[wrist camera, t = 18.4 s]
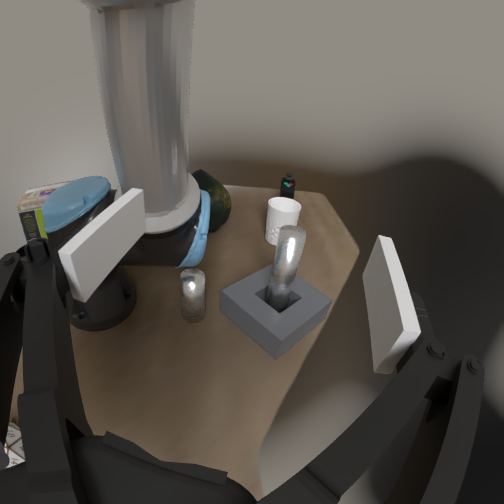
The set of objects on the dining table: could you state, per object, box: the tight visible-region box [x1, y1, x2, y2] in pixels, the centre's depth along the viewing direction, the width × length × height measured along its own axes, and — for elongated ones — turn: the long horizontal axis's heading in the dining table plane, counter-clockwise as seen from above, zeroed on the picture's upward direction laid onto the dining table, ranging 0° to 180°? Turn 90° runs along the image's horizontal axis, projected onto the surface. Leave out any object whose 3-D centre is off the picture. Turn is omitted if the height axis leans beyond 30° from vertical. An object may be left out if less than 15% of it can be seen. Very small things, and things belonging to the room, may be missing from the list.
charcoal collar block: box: [220, 263, 333, 359], centre depth 53 cm, size 14×14×5 cm
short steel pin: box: [180, 268, 205, 323], centre depth 49 cm, size 4×4×9 cm
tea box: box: [17, 180, 75, 243], centre depth 59 cm, size 15×10×15 cm, turn 110°
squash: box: [191, 169, 231, 232], centre depth 74 cm, size 14×15×15 cm
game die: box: [4, 418, 25, 469], centre depth 21 cm, size 9×8×10 cm
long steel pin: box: [266, 225, 306, 313], centre depth 49 cm, size 4×4×18 cm
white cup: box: [265, 197, 301, 246], centre depth 73 cm, size 8×8×10 cm
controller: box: [280, 173, 295, 199], centre depth 88 cm, size 4×12×10 cm, turn 173°
